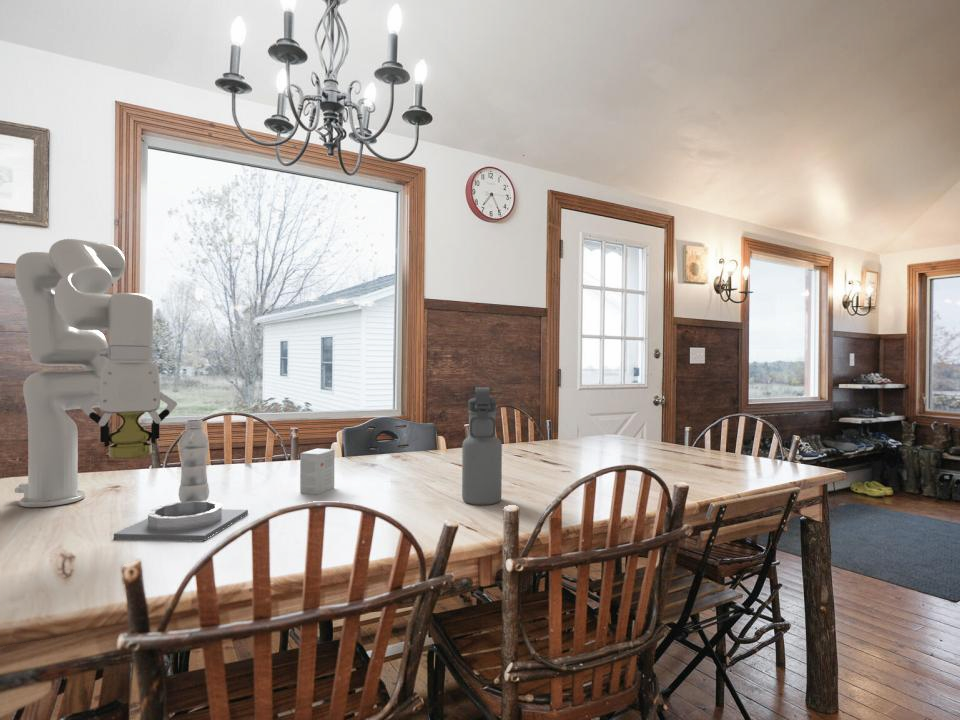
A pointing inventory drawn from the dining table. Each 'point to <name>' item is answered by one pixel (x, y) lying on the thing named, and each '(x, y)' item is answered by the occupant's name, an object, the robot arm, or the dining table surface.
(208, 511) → the steel ring
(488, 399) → the water bottle
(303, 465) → the small box
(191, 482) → the plastic bottle
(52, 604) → the dining table surface
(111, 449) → the olive turned piece
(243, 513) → the seat board
